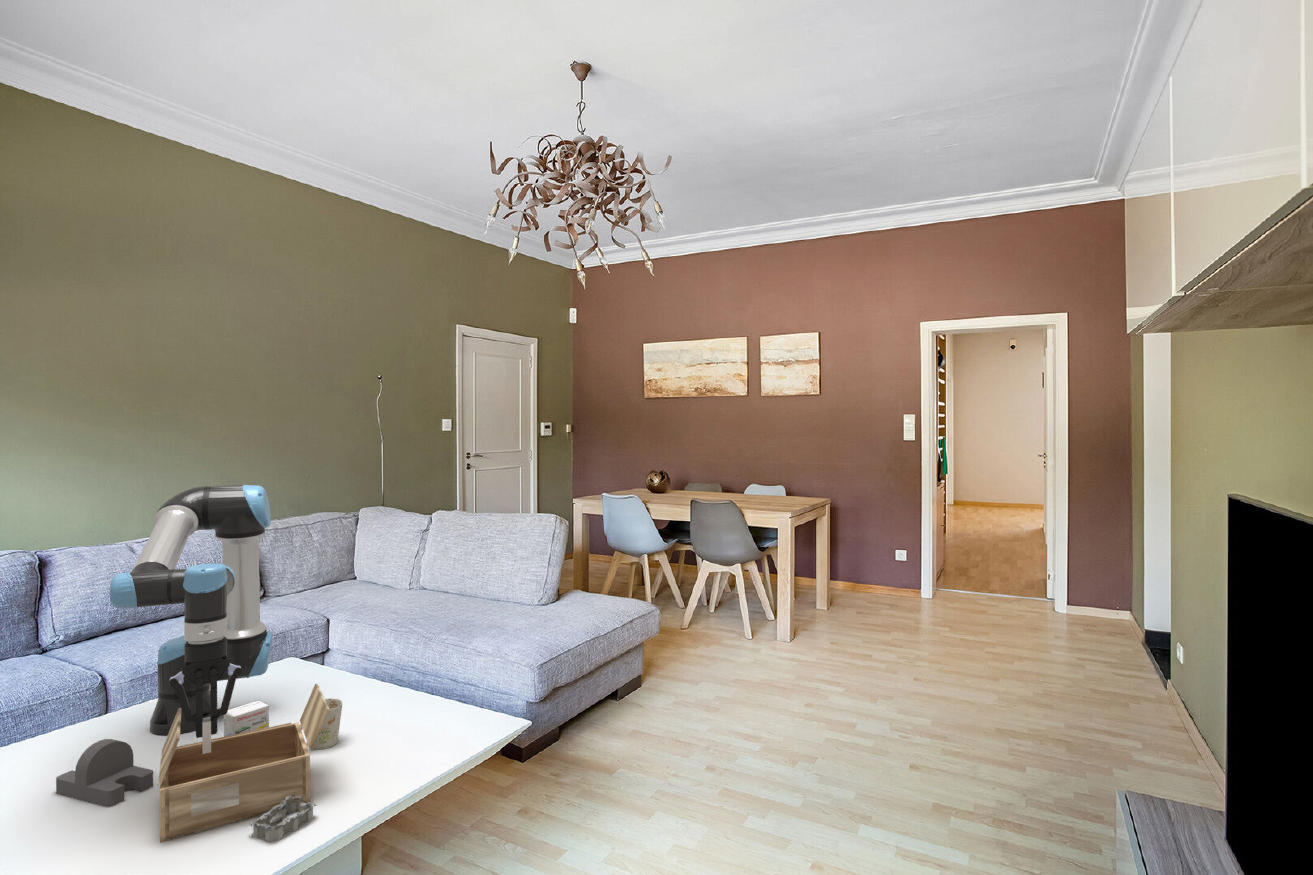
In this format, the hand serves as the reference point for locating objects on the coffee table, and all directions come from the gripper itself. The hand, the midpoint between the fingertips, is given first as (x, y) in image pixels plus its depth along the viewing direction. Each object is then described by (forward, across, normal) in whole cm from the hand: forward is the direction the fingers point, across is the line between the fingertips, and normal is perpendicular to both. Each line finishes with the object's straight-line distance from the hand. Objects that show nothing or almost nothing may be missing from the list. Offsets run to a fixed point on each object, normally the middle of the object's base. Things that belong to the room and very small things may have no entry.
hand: (206, 750), depth 145 cm
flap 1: (-3, -6, 0) cm, 7 cm away
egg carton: (+12, +13, -17) cm, 25 cm away
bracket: (+12, -18, +21) cm, 31 cm away
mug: (+12, +24, +17) cm, 31 cm away
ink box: (+12, +8, +22) cm, 26 cm away
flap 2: (-3, +20, 0) cm, 20 cm away
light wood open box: (+12, +5, 0) cm, 13 cm away
